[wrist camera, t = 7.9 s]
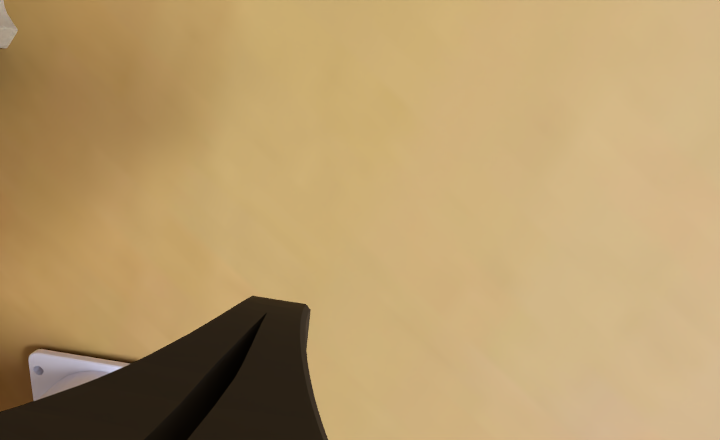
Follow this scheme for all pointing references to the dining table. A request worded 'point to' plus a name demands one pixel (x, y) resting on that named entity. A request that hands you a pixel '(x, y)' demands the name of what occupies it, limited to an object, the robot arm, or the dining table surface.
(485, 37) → the dining table surface
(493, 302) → the dining table surface
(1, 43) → the egg carton
